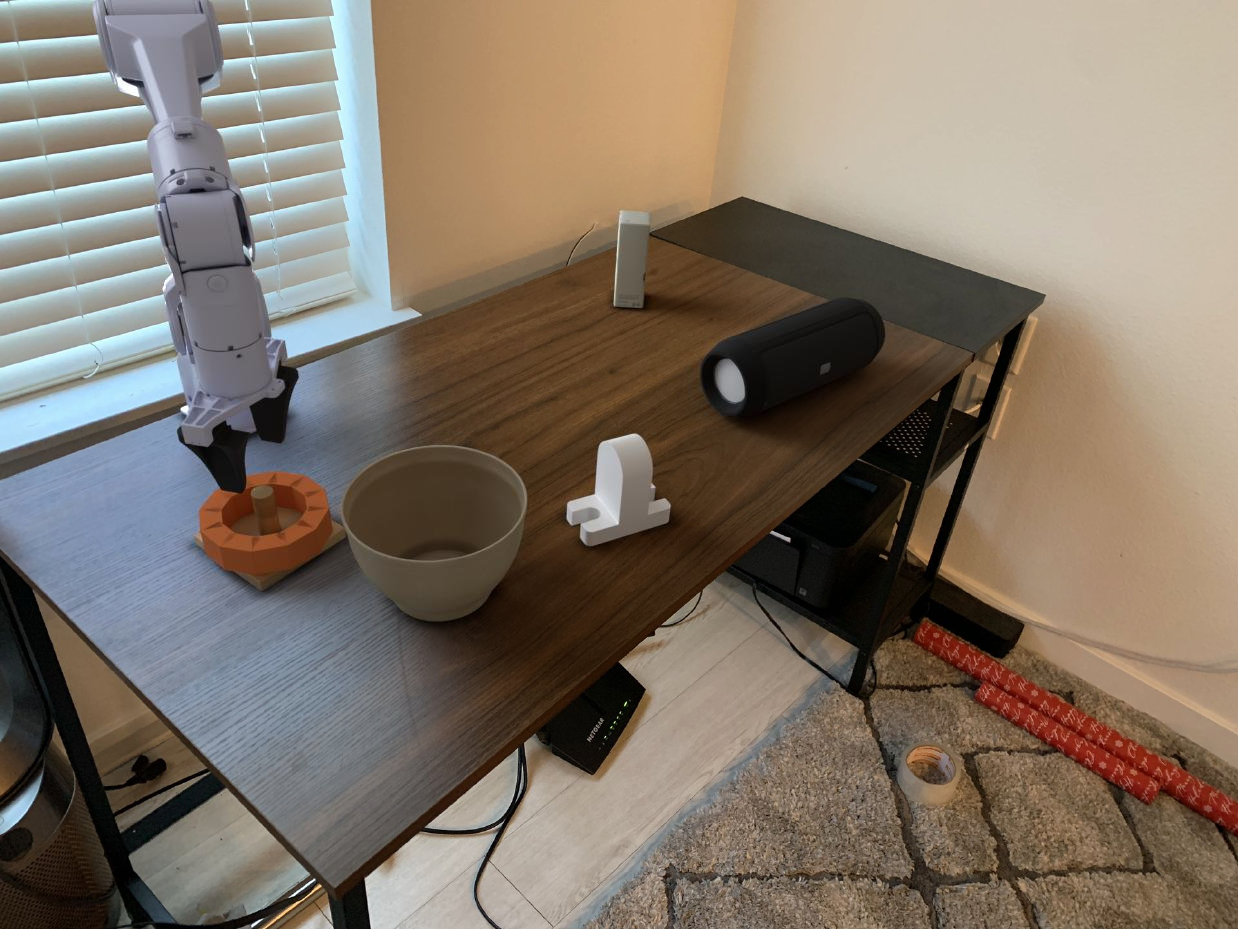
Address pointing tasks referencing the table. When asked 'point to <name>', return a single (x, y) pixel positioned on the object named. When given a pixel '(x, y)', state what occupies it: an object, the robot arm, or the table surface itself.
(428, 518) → the planter bowl
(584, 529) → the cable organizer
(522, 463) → the table surface
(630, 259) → the box
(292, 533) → the rubber ring
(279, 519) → the peg stand
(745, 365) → the portable speaker
